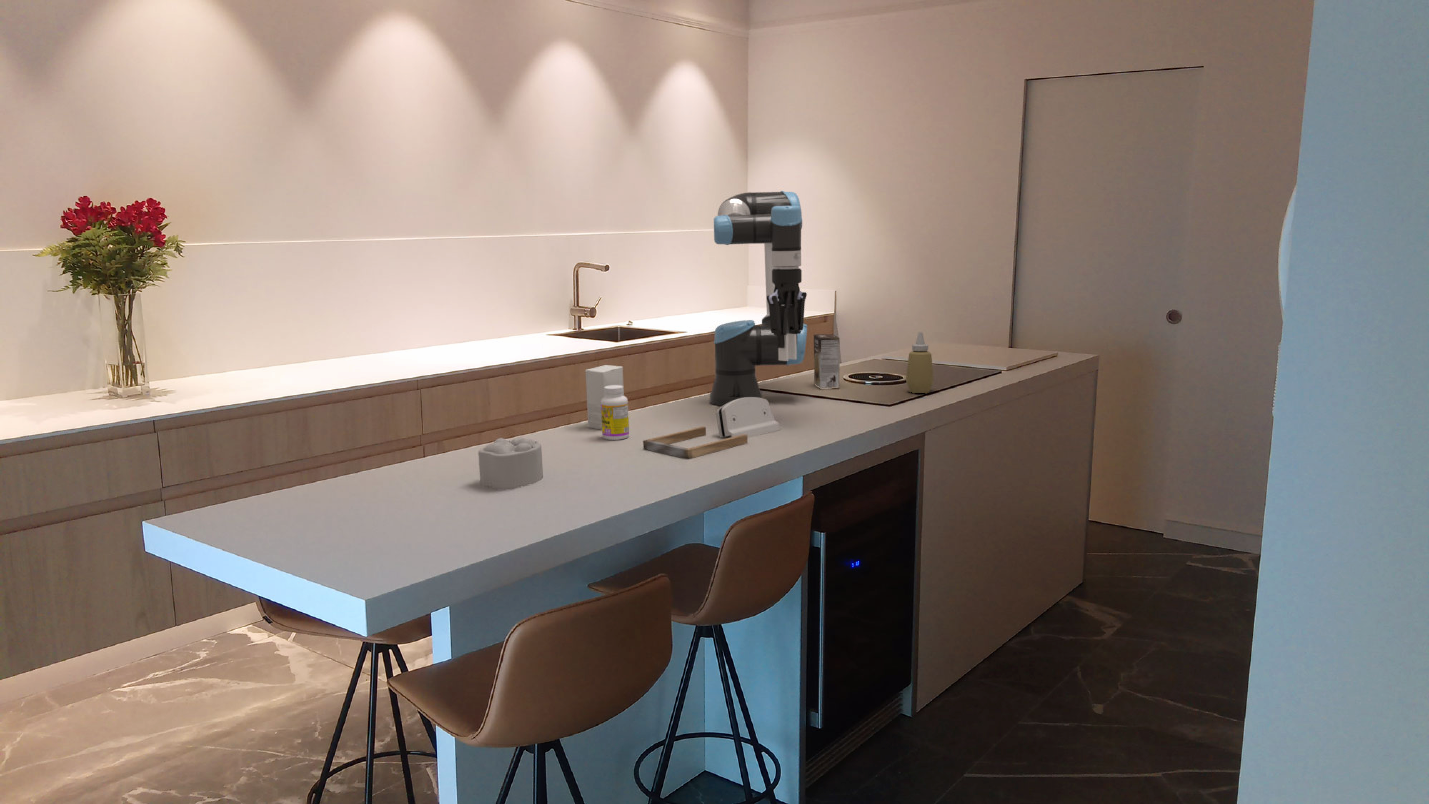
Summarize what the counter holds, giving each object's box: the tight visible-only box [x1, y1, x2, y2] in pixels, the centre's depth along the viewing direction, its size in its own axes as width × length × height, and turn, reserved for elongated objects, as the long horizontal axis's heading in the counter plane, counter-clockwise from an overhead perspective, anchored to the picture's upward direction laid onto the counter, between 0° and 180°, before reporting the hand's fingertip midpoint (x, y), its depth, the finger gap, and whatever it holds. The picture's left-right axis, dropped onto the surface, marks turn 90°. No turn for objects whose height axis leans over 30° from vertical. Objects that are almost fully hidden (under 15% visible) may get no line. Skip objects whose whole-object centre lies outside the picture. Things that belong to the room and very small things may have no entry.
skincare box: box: [584, 364, 625, 431], centre depth 249 cm, size 8×7×16 cm
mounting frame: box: [642, 426, 749, 460], centre depth 226 cm, size 15×20×2 cm
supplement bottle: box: [601, 385, 630, 441], centre depth 236 cm, size 7×7×13 cm
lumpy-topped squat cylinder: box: [477, 436, 544, 491], centre depth 200 cm, size 10×13×9 cm
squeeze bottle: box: [905, 332, 935, 394], centre depth 285 cm, size 8×8×18 cm
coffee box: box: [813, 333, 841, 388], centre depth 298 cm, size 9×6×16 cm
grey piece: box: [715, 397, 781, 439], centre depth 238 cm, size 17×5×10 cm, turn 131°
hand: (787, 359), depth 247 cm, fingers open, 3 cm apart
